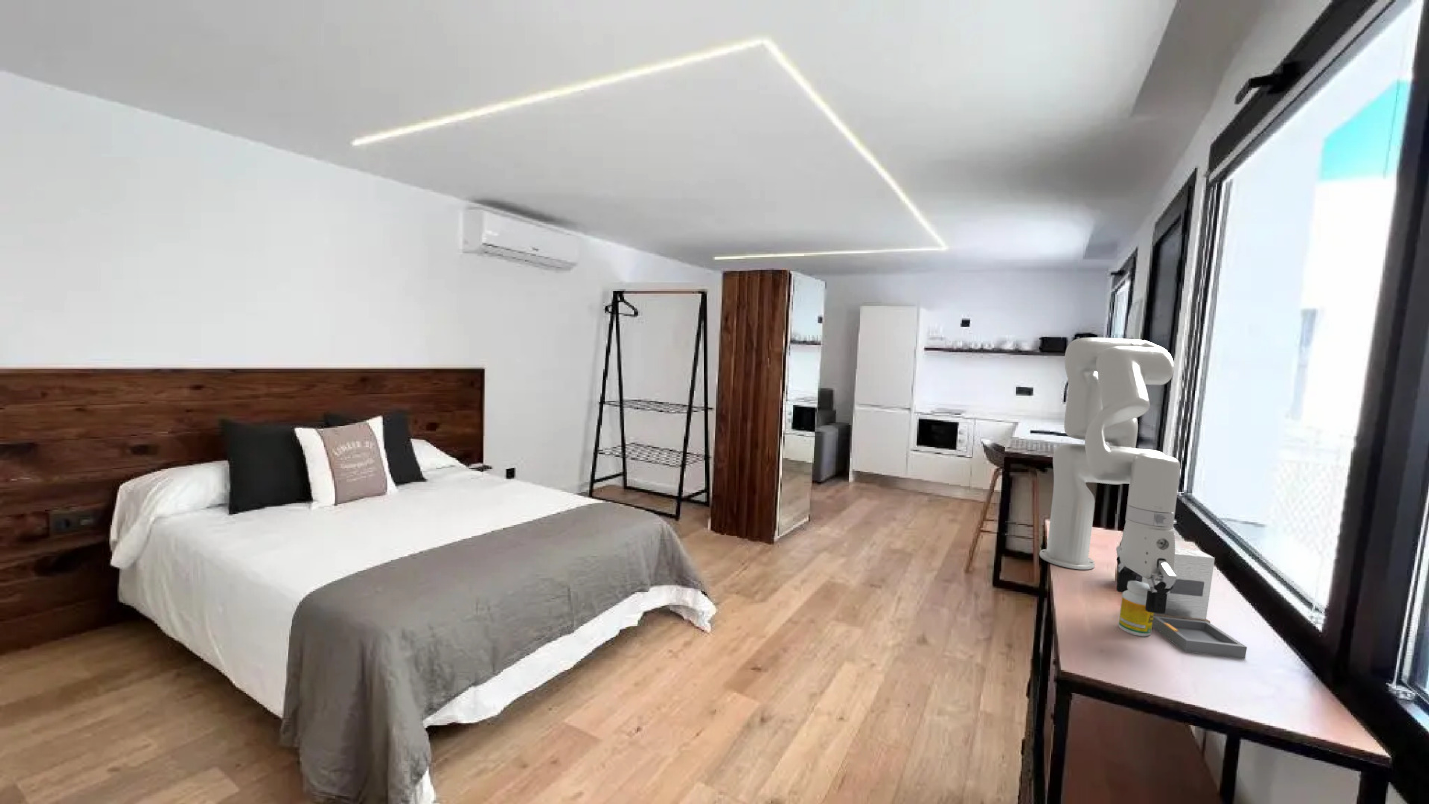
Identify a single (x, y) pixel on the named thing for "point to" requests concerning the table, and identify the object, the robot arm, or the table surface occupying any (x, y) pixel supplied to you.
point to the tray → (1198, 637)
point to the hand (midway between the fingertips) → (1139, 601)
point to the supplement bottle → (1135, 610)
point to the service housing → (1189, 585)
